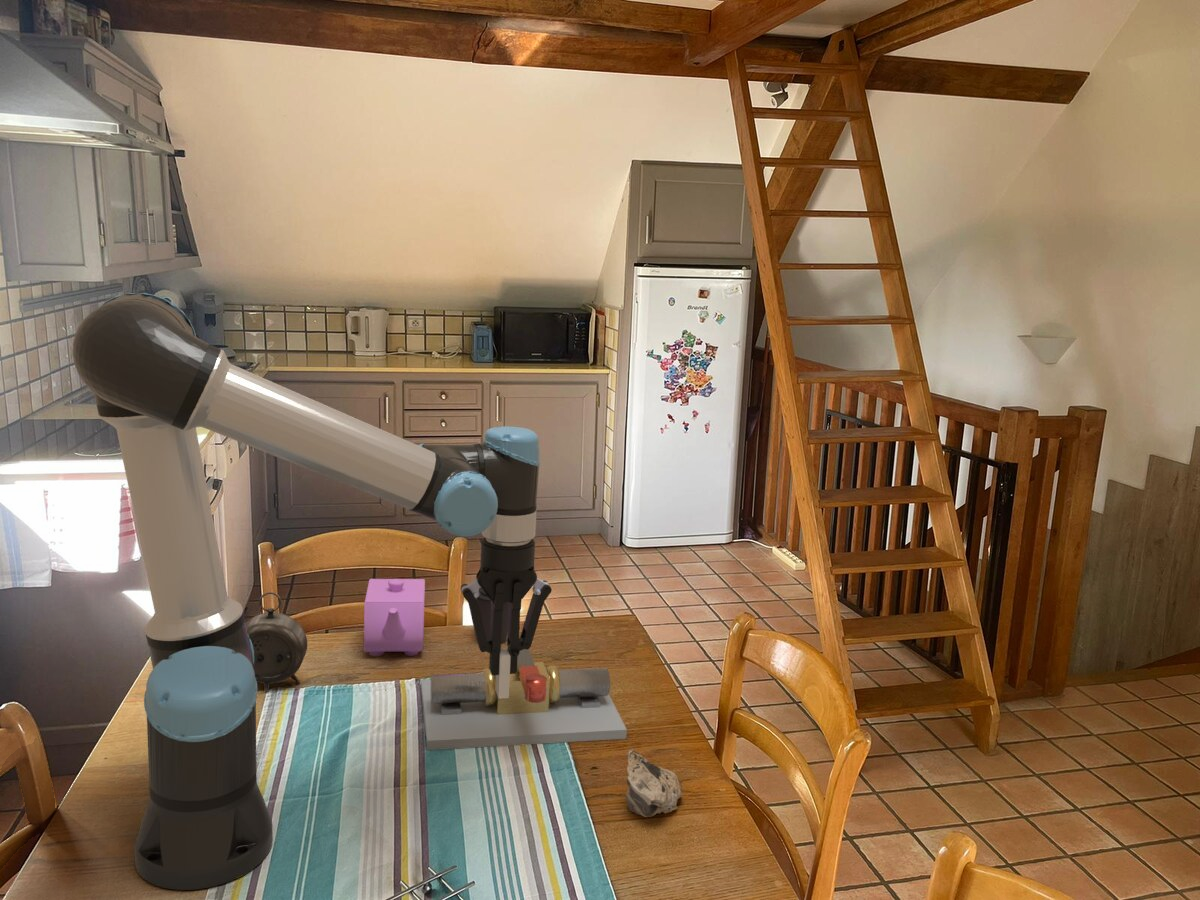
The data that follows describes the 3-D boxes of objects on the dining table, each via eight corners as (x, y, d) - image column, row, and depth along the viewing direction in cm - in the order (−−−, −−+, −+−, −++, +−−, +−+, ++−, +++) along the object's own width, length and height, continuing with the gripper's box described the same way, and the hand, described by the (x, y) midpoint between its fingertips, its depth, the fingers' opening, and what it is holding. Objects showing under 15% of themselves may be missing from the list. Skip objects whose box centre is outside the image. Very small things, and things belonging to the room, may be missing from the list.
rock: (624, 766, 136) (606, 752, 127) (672, 750, 135) (657, 735, 126) (641, 829, 131) (624, 819, 122) (690, 813, 130) (677, 802, 122)
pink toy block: (369, 627, 181) (370, 564, 179) (423, 627, 183) (425, 565, 180) (361, 674, 162) (362, 604, 159) (421, 673, 164) (423, 604, 161)
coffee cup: (497, 627, 185) (500, 578, 183) (522, 642, 179) (524, 591, 177) (462, 636, 180) (463, 586, 178) (486, 651, 174) (488, 599, 172)
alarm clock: (307, 679, 159) (308, 587, 155) (301, 694, 153) (301, 599, 150) (239, 678, 157) (238, 585, 154) (230, 693, 152) (229, 597, 149)
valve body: (610, 708, 152) (612, 673, 151) (431, 717, 145) (432, 681, 144) (601, 690, 158) (603, 656, 157) (429, 698, 152) (430, 663, 150)
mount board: (626, 738, 146) (626, 729, 146) (427, 750, 139) (427, 740, 139) (597, 680, 165) (597, 672, 165) (420, 688, 158) (421, 679, 158)
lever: (510, 665, 152) (511, 637, 151) (529, 664, 153) (530, 636, 152) (525, 714, 136) (527, 683, 135) (546, 713, 137) (548, 682, 136)
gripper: (547, 529, 139) (540, 679, 144) (458, 531, 135) (453, 685, 140) (560, 544, 132) (551, 702, 137) (465, 547, 128) (460, 709, 133)
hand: (502, 693), depth 138 cm, fingers closed
